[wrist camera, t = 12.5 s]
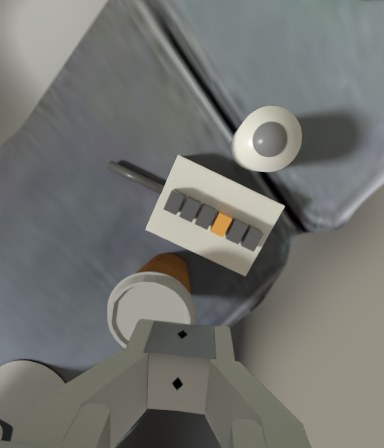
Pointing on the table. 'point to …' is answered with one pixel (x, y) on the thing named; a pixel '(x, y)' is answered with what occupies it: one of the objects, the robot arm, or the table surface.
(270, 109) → the white hollow cylinder
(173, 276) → the disposable coffee cup
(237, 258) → the power strip
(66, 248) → the table surface
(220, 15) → the table surface
